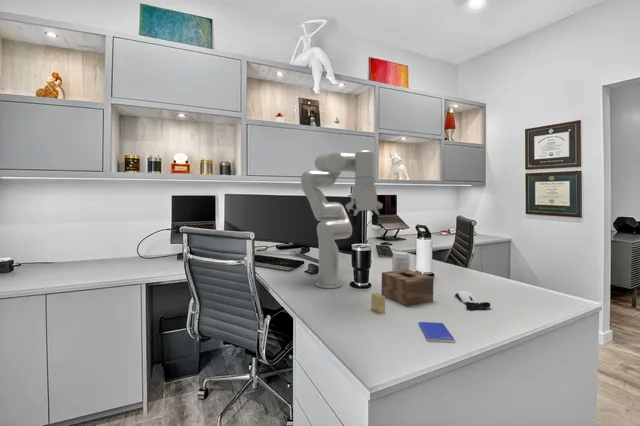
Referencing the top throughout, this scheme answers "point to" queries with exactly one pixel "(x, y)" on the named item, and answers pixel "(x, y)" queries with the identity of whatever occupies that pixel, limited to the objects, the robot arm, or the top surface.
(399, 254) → the supplement can
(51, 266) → the top surface
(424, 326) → the hard drive
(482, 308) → the computer mouse
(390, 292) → the wooden tissue box
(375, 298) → the wooden block
